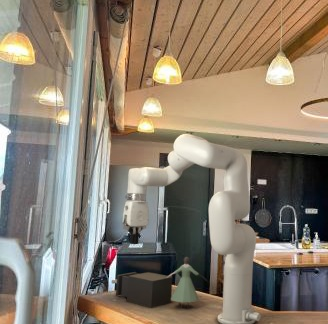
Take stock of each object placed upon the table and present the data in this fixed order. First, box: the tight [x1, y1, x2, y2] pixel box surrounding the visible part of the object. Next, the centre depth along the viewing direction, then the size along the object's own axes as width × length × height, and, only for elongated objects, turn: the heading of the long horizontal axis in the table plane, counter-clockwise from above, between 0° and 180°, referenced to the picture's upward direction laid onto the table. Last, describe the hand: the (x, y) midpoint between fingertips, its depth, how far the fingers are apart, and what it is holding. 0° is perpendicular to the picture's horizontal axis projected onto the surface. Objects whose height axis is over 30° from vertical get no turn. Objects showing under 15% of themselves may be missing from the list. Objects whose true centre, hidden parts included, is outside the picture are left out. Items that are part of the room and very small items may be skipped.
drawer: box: [111, 271, 138, 298], centre depth 151 cm, size 17×9×8 cm, turn 57°
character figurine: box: [167, 256, 210, 309], centre depth 141 cm, size 16×8×18 cm, turn 91°
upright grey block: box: [126, 271, 173, 309], centre depth 145 cm, size 13×10×9 cm
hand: (134, 243), depth 154 cm, fingers closed
